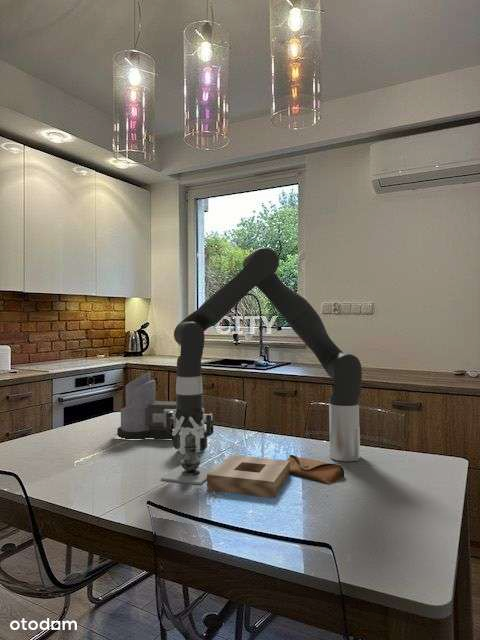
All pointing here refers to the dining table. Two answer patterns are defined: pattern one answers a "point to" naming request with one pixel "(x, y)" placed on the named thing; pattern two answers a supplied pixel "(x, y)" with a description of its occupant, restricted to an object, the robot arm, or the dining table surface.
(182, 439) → the skincare box
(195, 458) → the grey stone ornament
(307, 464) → the sunglasses case
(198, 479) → the grey mat
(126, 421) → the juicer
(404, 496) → the dining table surface
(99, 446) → the dining table surface
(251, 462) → the pocket holder
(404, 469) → the dining table surface
